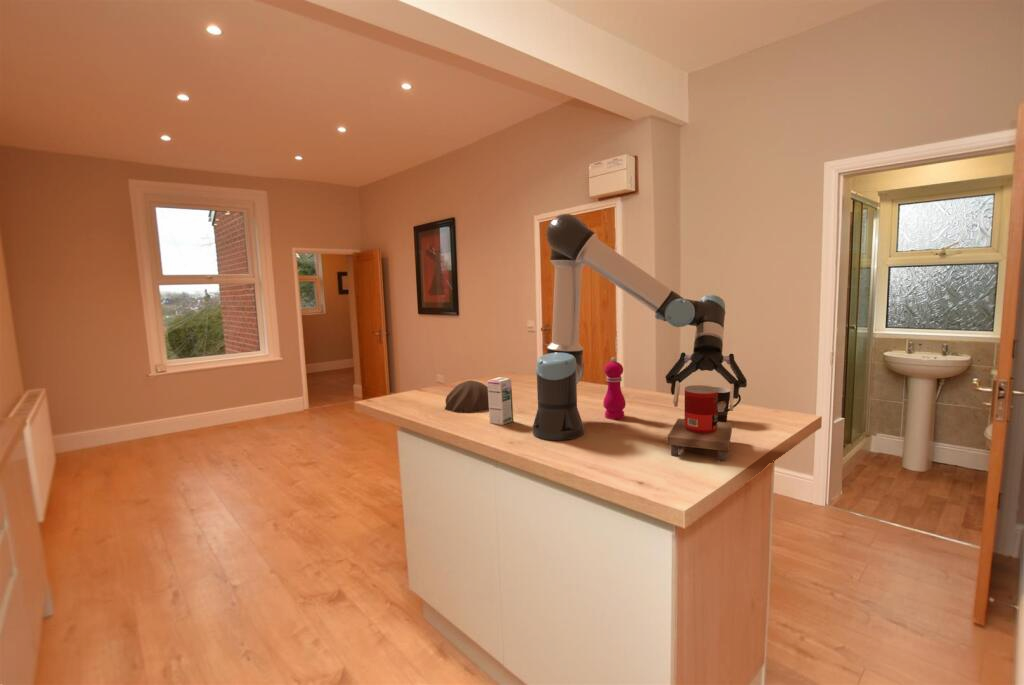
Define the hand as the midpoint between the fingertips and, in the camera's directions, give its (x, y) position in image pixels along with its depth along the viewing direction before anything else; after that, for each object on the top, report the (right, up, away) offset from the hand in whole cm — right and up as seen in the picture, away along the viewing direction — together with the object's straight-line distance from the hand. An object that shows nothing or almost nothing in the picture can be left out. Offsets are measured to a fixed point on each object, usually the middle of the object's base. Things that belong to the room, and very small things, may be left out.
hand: (702, 406), depth 126 cm
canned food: (0, -6, +1) cm, 6 cm away
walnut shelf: (0, -11, +1) cm, 11 cm away
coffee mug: (+15, -8, +24) cm, 30 cm away
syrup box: (-53, -10, +33) cm, 64 cm away
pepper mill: (-16, -8, +34) cm, 39 cm away
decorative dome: (-65, -8, +58) cm, 87 cm away
